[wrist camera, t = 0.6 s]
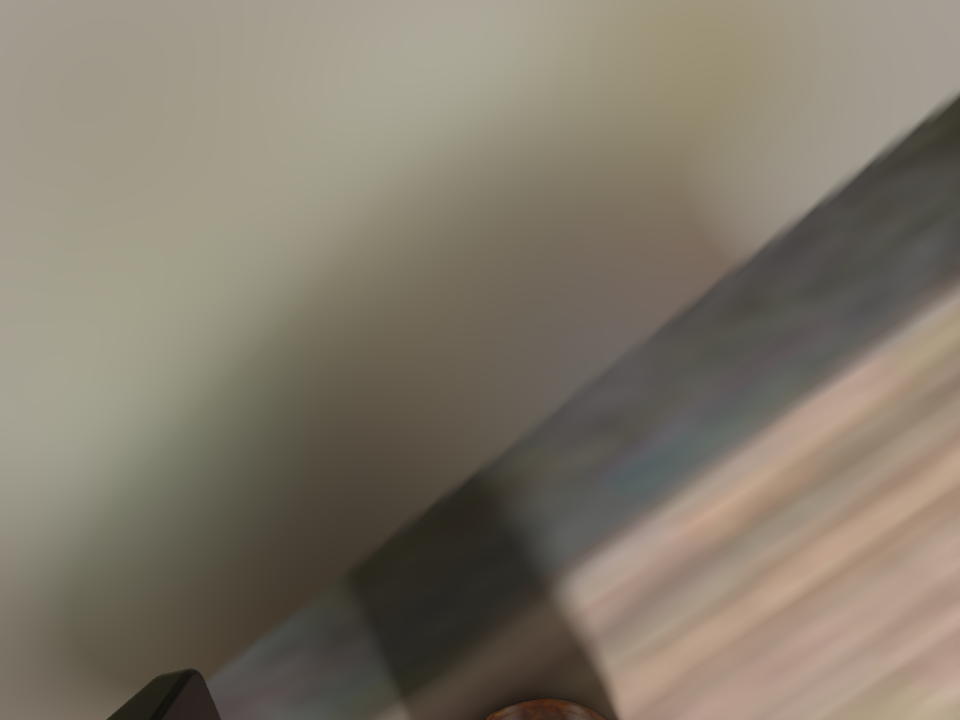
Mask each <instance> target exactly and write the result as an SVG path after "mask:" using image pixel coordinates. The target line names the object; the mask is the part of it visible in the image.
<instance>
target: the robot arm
mask: <svg viewBox="0 0 960 720" xmlns="http://www.w3.org/2000/svg"><path fill="white" fill-rule="evenodd" d="M107 720H221V718H220V716H219V713H218V711H217V709H216V706H215V704H214V702H213V699H212V697H211V695H210V692H209V690H208V688H207V685H206V683H205V681H204V679H203V677H202V675H201V674H200V673H199V672H198V671H197V670H195V669H192V668H189V669H184V670H179V671H174V672H169V673H165V674H161V675H159V676H157V677H155V678H154V679H153V680H152V681H151V682H149V683H148V684H147V685H146V686H145V687H144V688H142V689H141V690H140V691H139V692H138V693H137V694H135V695H134V696H133V697H132V698H131V699H130V700H128V701H127V702H126V703H125V704H124V705H123V706H122V707H120V708H119V709H118V710H117V711H116V712H115V713H114V714H112V715H111V716H110V717H109V718H108V719H107Z"/></svg>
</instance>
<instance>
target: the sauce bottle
mask: <svg viewBox="0 0 960 720" xmlns="http://www.w3.org/2000/svg"><path fill="white" fill-rule="evenodd" d="M486 720H606V719H605V718H603V717H602V716H601V715H599V714H598V713H596V712H595V711H593V710H591V709H588V708H586V707H584V706H582V705H581V704H578V703H574V702H567V701H565V700H557V699H549V698H545V699H537V700H531V701H526V702H522V703H517V704H515V705H510V706H508V707H505V708H503V709H502V710H499V711H495V712H493V713H491V714H490V715H489V716H488V717H487V719H486Z"/></svg>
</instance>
